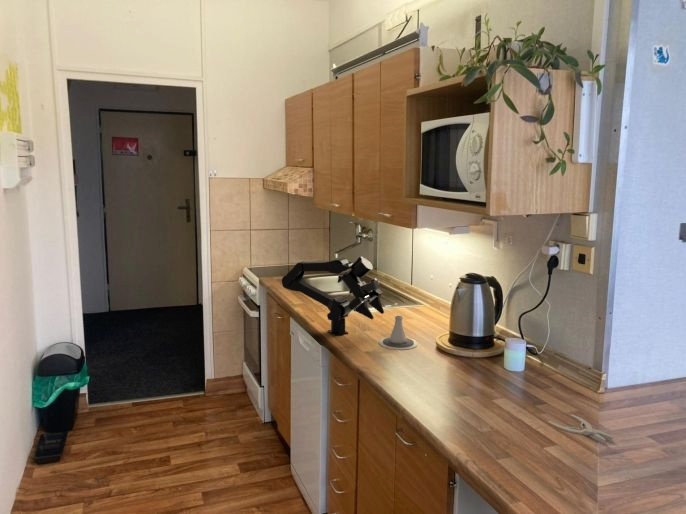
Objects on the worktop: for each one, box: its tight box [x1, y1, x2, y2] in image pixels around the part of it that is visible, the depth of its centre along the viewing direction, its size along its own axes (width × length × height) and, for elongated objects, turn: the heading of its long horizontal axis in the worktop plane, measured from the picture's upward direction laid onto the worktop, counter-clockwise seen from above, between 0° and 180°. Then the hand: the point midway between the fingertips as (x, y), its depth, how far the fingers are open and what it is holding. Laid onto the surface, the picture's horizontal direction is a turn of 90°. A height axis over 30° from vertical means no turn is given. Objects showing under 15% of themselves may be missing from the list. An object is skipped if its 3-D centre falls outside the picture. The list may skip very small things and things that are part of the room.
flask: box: [389, 315, 407, 344], centre depth 218 cm, size 7×7×10 cm
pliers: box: [547, 413, 613, 445], centre depth 149 cm, size 10×2×15 cm
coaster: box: [378, 336, 419, 351], centre depth 218 cm, size 15×15×1 cm
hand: (378, 316), depth 221 cm, fingers open, 9 cm apart
